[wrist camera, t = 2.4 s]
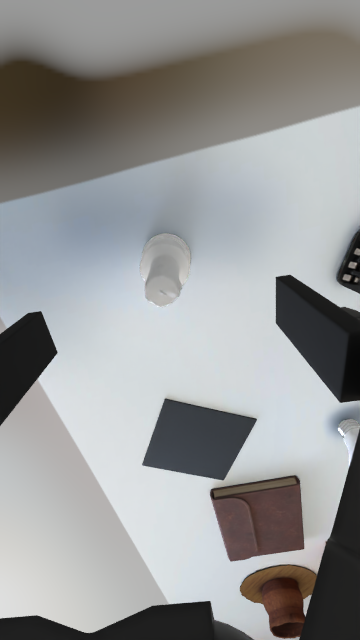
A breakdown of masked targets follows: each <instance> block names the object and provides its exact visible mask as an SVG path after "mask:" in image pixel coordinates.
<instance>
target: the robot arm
mask: <svg viewBox="0 0 360 640" xmlns="http://www.w3.org/2000/svg"><path fill="white" fill-rule="evenodd" d="M276 324H277V325H278V326H279V327H280V329H281V330H282V331H283V332H284V334H285V335H286V336H287V337H288V339H289V340H290V341H291V342H292V344H293V345H294V346H295V347H296V349H297V350H298V351H299V352H300V353H301V355H302V356H303V357H304V358H305V360H306V361H307V362H308V363H309V365H310V366H311V367H312V368H313V370H314V371H315V372H316V373H317V375H318V376H319V377H320V378H321V380H322V381H323V382H324V383H325V384H326V386H327V387H328V388H329V389H330V391H331V392H332V393H333V394H334V396H335V397H336V398H337V399H338V401H339V402H340V403H342V402H350V401H358V400H360V312H358V311H356V310H353V309H350V308H346V307H341V308H340V307H338V306H337V305H335V304H334V303H332V302H331V301H329V300H328V299H326V298H325V297H323V296H322V295H320V294H319V293H317V292H316V291H314V290H313V289H311V288H309V287H308V286H306V285H305V284H303V283H302V282H300V281H299V280H297V279H296V278H294V277H293V276H291V275H286V276H280V277H276ZM57 353H58V352H57V350H56V347H55V345H54V342H53V340H52V337H51V335H50V332H49V330H48V327H47V325H46V322H45V320H44V317H43V315H42V312H41V311H39V312H32V313H28V314H26V315H25V316H24V317H22V318H21V319H20V320H18V321H17V322H16V323H14V324H13V325H12V326H10V327H9V328H8V329H6V330H5V331H4V332H2V333H1V334H0V425H1V424H2V423H3V422H4V420H5V419H6V418H7V417H8V415H9V414H10V413H11V411H12V410H13V409H14V408H15V406H16V405H17V404H18V403H19V401H20V400H21V399H22V397H23V396H24V395H25V393H26V392H27V391H28V390H29V389H30V387H31V386H32V385H33V383H34V382H35V381H36V380H37V378H38V377H39V376H40V375H41V373H42V372H43V371H44V370H45V368H46V367H47V366H48V364H49V363H50V362H51V361H52V359H53V358H54V357H55V356H56V354H57ZM0 640H253V639H252V638H251V637H249V636H248V635H246V634H245V633H244V632H242V631H240V630H238V629H236V628H234V627H232V626H230V625H228V624H225V623H222V622H219V621H216V620H214V617H213V612H212V607H211V603H210V601H205V602H193V603H181V604H169V605H157V606H151V607H149V608H147V609H145V610H143V611H140V612H138V613H136V614H134V615H132V616H129V617H127V618H125V619H123V620H121V621H118V622H116V623H114V624H112V625H109V626H107V627H105V628H103V629H101V630H98V631H96V632H93V633H84V632H81V631H78V630H76V629H73V628H70V627H67V626H65V625H62V624H59V623H57V622H54V621H51V620H48V619H46V618H42V617H40V616H25V617H14V618H2V619H0ZM299 640H360V429H359V433H358V437H357V440H356V444H355V448H354V452H353V455H352V459H351V463H350V466H349V470H348V474H347V477H346V481H345V485H344V489H343V492H342V496H341V500H340V503H339V507H338V511H337V515H336V518H335V522H334V526H333V529H332V533H331V536H330V538H329V539H328V541H327V543H326V546H325V549H324V553H323V556H322V560H321V563H320V567H319V570H318V574H317V578H316V581H315V585H314V588H313V592H312V596H311V599H310V603H309V607H308V610H307V614H306V617H305V621H304V625H303V628H302V632H301V635H300V639H299Z"/></svg>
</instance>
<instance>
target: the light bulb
mask: <svg viewBox="0 0 360 640" xmlns="http://www.w3.org/2000/svg"><path fill="white" fill-rule="evenodd" d="M359 429H360V425H359V423H358V422H357V421H356V420H354V419H345V420H343V421H342V422H340V423H339V425H338V431H339V433H340V434H341V436H342V437H343V438H344V442H345V444H346V446H347V448H348V452H349V466H350V463H351V459H352V455H353V452H354V448H355V444H356V440H357V437H358V433H359Z"/></svg>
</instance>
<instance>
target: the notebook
mask: <svg viewBox="0 0 360 640" xmlns="http://www.w3.org/2000/svg"><path fill="white" fill-rule="evenodd" d="M210 496H211V500H212V503H213V507H214V510H215V514H216V517H217V520H218V524H219V527H220V531H221V534H222V537H223V541H224V544H225V548H226V551H227V555H228V558H229V560H230V561H238V560H245V559H248V558H251V557H253V556H260V555H267V554H274V553H281V552H288V551H295V550H302V549H304V536H303V521H302V505H301V490H300V480H299V478H298V477H297V476H290V477H284V478H278V479H272V480H265V481H259V482H253V483H247V484H241V485H235V486H229V487H223V488H217V489H212V490H211V492H210Z"/></svg>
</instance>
